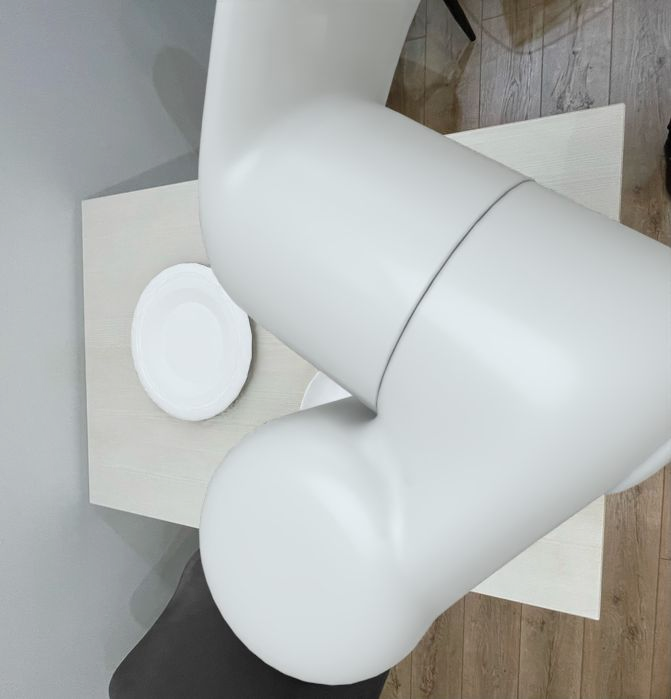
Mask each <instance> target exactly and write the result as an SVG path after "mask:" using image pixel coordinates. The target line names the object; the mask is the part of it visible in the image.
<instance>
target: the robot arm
mask: <svg viewBox="0 0 671 699" xmlns="http://www.w3.org/2000/svg"><path fill="white" fill-rule="evenodd" d="M421 1H422V0H216V3H215V10H214V19H213V26H212V33H211V43H210V51H209V60H208V68H207V76H206V77H207V78H206V85H205V93H204V94H205V95H204V104H203V112H202V121H201V130H200V140H199V153H198V168H197V170H198V171H197V172H198V173H197V174H198V175H197V187H198V188H197V193H198V194H197V195H198V196H197V197H198V198H197V199H198V219H199V228H200V234H201V240H202V244H203V247H204V250H205V254H206V258H207V262H208V264H209V267H210V268H211V269H212V271H213V273H214V275H215V277H216V278H217V280H218V282H219V283H220V285H221V286H222V287H223V289H224V290H225V292H226V293H227V294H228V296H229V297H230V298H231V299H232V301H233V302H234V303H235V304H236V305H237V306H238V307H239V308H241V309H242V310H243V311H244V312H245V313H246V314H248V316H249V318H251V319H252V320H253V321H254V322H256V323H257V324H258V325H259V326H261V327H262V328H263V329H264V330H265V331H267V332H268V333H269V334H270V335H271V336H273V337H275V339H277V340H278V341H279V342H281V343H282V344H283V345H285V346H286V347H287V348H288V349H290V350H291V351H292V352H294V353H295V354H296V355H298V356H299V357H300V358H301V359H303V360H304V361H305V362H307V363H308V364H310V365H311V366H313V367H314V368H315V369H316V370H318V371H321V372H322V373H323V374H325V375H326V376H327V377H329V378H330V379H331V380H333V381H334V382H335V383H337V384H338V385H339V386H341V387H342V388H343V389H345V390H346V391H347V392H349V393H350V394H351V395H353V396H350V397H346V398H343V399H339V400H336V401H332V402H329V403H325V404H322V405H319V406H315V407H312V408H308V409H305V410H301V411H300V410H298V411H295V412H292V413H288V414H286V415H282V416H280V417H277V418H274V419H272V420H269V421H266V422H265V423H263V424H261V425H258V426H257V427H256V428H254V429H253V430H251V431H249V432H248V433H246V435H244V436H243V437H242V438H240V440H239V441H238V442H237V443H235V444H234V445H233V446H232V447H231V448H230V449H229V450H228V451H227V453H226V454H225V456H224V457H223V458H222V460H221V461H220V463H219V464H218V465H217V467H216V468H215V470H214V472H213V474H212V476H211V478H210V480H209V482H208V485H207V487H206V491H205V494H204V498H203V502H202V506H201V510H200V516H199V525H198V537H199V538H198V540H199V541H198V542H199V553H200V554H199V555H200V560H201V565H202V566H201V567H202V569H203V573H204V577H205V581H206V584H207V586H208V589H209V591H210V594H211V597H212V599H213V601H214V603H215V605H216V607H217V609H218V611H219V612H220V614H221V616H222V618H223V619H224V621H225V622H226V624H227V625H228V626H229V628H230V629H231V630H232V632H233V633H234V635H235V636H236V637H237V638H238V639H239V640H240V641H241V642H242V643H243V644H244V646H245V647H246V648H247V650H249V651H250V652H251V653H253V654H254V655H256V656H257V658H259V659H261V661H263V662H264V663H265V664H267V665H268V666H269V667H272V668H273V669H274V670H276V671H279V672H280V673H283V674H284V675H286V676H289V677H291V678H295V679H297V680H300V681H302V682H306V683H313V684H320V685H328V686H339V685H352V684H355V683H358V682H362V681H366V680H369V679H372V678H374V677H377V676H379V675H381V674H383V673H385V672H386V671H388V670H390V669H391V668H393V667H395V666H396V665H397V664H399V663H400V662H401V661H403V660H404V659H405V658H406V657H407V656H409V655H410V653H411V652H412V651H413V650H414V649H415V648H416V647H417V645H418V644H419V642H420V641H421V640H422V639H423V637H425V634H426V633H427V632H428V630H429V629H430V627H431V626H432V625H433V623H434V622H435V621H436V620H437V618H438V617H439V616H441V615H442V614H443V613H444V612H446V611H447V610H448V609H449V608H451V607H452V606H453V605H454V604H456V603H457V602H458V601H459V600H461V599H462V598H463V597H464V596H466V595H467V594H468V593H470V592H471V591H472V590H474V589H475V588H477V586H480V584H482V583H483V582H484V581H486V580H487V579H488V578H490V577H491V576H492V575H494V574H495V573H496V572H498V571H499V570H501V569H502V568H503V567H505V566H506V565H508V563H510V562H512V560H514V559H515V558H517V557H518V556H519V555H521V554H522V553H524V552H525V551H526V550H527V549H529V548H530V547H532V546H533V545H534V544H535V543H537V542H539V541H540V540H541V539H543V538H544V537H546V536H547V535H548V534H550V533H552V531H554V530H555V529H557V528H558V527H560V526H561V525H562V524H564V523H565V522H567V521H568V520H570V519H571V518H572V517H574V516H575V515H577V514H578V513H579V512H581V511H582V510H584V509H585V508H586V507H588V506H589V505H590V504H592V503H593V502H595V501H597V500H598V499H599V498H600V497H602V496H608V495H615V494H619V493H622V492H625V491H627V490H629V489H631V488H633V487H635V486H637V485H639V484H641V483H642V482H644V481H646V480H647V479H649V478H651V477H652V476H653V475H655V474H656V473H658V472H659V471H661V470H662V469H663V468H664V467H666V466H667V465H668V464H669V463H671V247H670V246H668V245H666V244H665V243H662V242H660V241H658V240H656V239H654V238H652V237H650V236H648V235H646V234H644V233H642V232H640V231H637V230H636V229H634V228H631V227H629V226H627V225H625V224H623V223H621V222H620V221H617V220H615V219H613V218H610V217H609V216H607V215H605V214H602V213H600V212H599V211H597V210H594V209H592V208H590V207H589V206H586V205H583V204H582V203H580V202H578V201H576V200H573V199H572V198H569V197H567V196H565V195H563V194H561V193H559V192H558V191H557V192H556V191H555V190H552V189H550V188H548V187H546V186H544V185H542V184H540V183H538V182H537V181H536V180H535V179H534V178H532V177H530V176H528V175H526V174H524V173H522V172H520V171H518V170H515V169H514V168H511V167H510V166H507V165H505V164H504V163H502V162H499V161H497V160H495V159H493V158H491V157H490V156H486V155H485V154H483V153H481V152H479V151H476V150H475V149H473V148H471V147H469V146H466V145H464V144H462V143H461V142H458V141H456V140H454V139H452V138H450V137H448V136H446V135H444V134H442V133H440V132H438V131H436V130H433V129H432V128H430V127H428V126H426V125H424V124H422V123H419V122H418V121H415V120H414V119H412V118H410V117H408V116H407V115H404V114H402V113H400V112H398V111H395V110H393V109H391V108H389V107H387V106H386V105H387V101H388V98H389V93H390V90H391V86H392V83H393V79H394V76H395V73H396V69H397V66H398V64H399V60H400V57H401V53H402V50H403V48H404V44H405V42H406V39H407V36H408V33H409V30H410V27H411V25H412V22H413V20H414V17H415V16H416V13H417V10H418V8H419V5H420V3H421Z"/></svg>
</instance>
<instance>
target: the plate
mask: <svg viewBox="0 0 671 699" xmlns="http://www.w3.org/2000/svg"><path fill="white" fill-rule="evenodd" d="M144 288H145V289H143V291H142V293H141V294H140V297H139V299H138V302H137V304H136V306H135V309H134V312H133V318H132V322H131V328H130V350H131V355H132V360H133V366H134V369H135V372H136V374H137V376H138V378H139V382H140V384H141V387H142V388H143V389H144V390H145V392H146V393H147V395H148V397H149V398H150V399H151V401H152V402H153V403H155V404H156V405H157V406H158V407H159V408H160V409H161V410H162V411H164V413H167V414H169V415H171V416H173V417H175V418H177V419H179V420H184V421H192V422H198V421H203V420H209V419H212V418H214V417H216V416H218V415H219V414H221V413H222V412H224V411H226V410H227V409H228V408H229V407H230V406H231V405H232V404H233V403H234V402H235V401H236V399H237V398H239V396H240V393H241V392H242V390H243V388H244V386H245V384H246V382H247V380H248V377H249V373H250V369H251V364H252V360H253V340H254V338H253V337H254V335H253V331H252V325H251V321H250V316H249V315H248V314H246V313H245V312H244V311H243V310H242V309H241V308H239V307H238V306H237V305H236V304H235V303H234V302H233V301H232V299H231V298H230V297H229V296H228V294H227V293H226V292H225V290H224V289H223V287H222V286H221V285H220V283H219V282H218V280H217V278H216V277H215V275H214V273H213V271H212V269H211V266H207V265H203V264H200V263H197V262H185V263H184V262H183V263H177V264H175V265H172V266H169V267H167V268H165V269H163V270H162V271H161V272H159V273H158V274H157V275H156V276H154V277H153V278H152V279H151V280H150V281H149V283H148V284H147V285H146V287H144Z"/></svg>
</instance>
